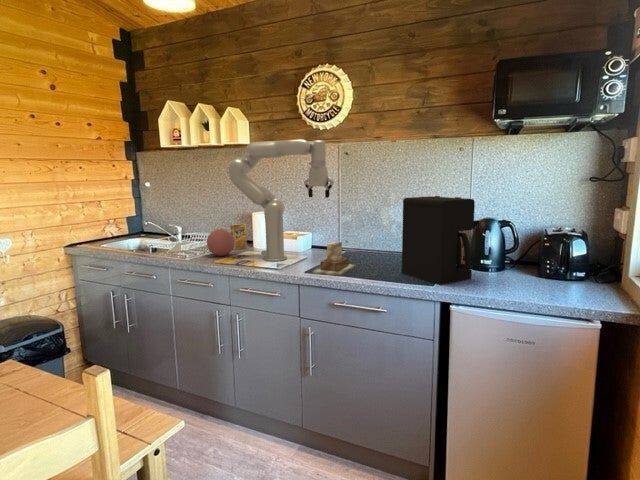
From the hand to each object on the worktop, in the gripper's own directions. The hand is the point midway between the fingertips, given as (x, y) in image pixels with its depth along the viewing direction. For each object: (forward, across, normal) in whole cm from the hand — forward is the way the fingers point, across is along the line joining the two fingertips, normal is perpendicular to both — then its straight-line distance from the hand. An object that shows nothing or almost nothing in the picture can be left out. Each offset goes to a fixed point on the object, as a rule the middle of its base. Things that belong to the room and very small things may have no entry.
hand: (318, 197), depth 220 cm
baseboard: (+34, -96, -5) cm, 102 cm away
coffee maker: (+34, +66, -14) cm, 75 cm away
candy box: (+34, -60, +8) cm, 69 cm away
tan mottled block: (+32, +18, -20) cm, 42 cm away
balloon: (+34, -56, -12) cm, 66 cm away
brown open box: (+33, +18, -20) cm, 43 cm away
